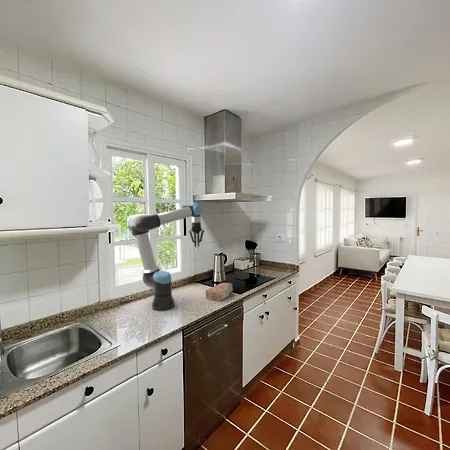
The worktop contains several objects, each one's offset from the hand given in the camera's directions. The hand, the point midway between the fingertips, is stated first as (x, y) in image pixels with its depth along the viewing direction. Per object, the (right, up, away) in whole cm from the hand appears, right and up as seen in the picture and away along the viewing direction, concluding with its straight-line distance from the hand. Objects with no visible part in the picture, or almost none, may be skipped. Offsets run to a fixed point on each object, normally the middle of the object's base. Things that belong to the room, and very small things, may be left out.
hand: (197, 250), depth 205 cm
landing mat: (+22, -32, -7) cm, 40 cm away
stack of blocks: (+15, -29, -12) cm, 35 cm away
